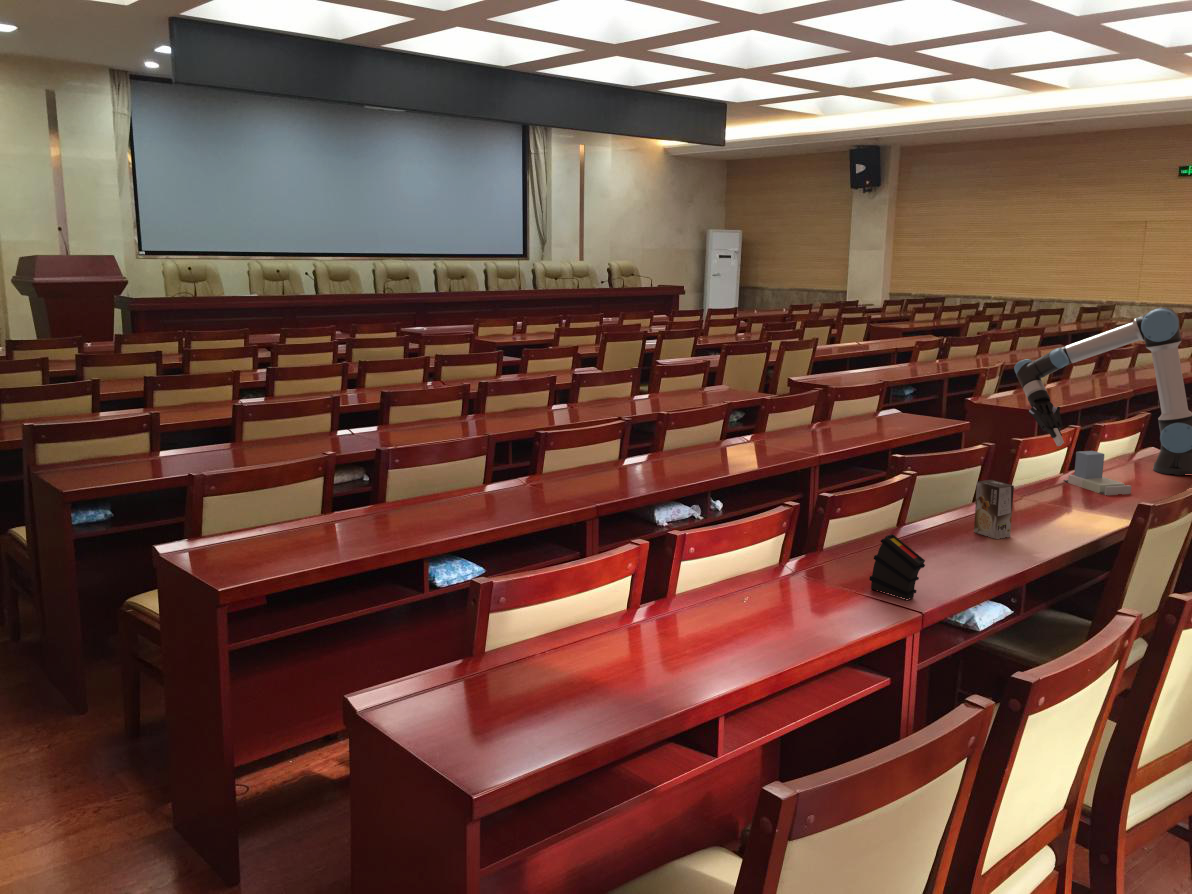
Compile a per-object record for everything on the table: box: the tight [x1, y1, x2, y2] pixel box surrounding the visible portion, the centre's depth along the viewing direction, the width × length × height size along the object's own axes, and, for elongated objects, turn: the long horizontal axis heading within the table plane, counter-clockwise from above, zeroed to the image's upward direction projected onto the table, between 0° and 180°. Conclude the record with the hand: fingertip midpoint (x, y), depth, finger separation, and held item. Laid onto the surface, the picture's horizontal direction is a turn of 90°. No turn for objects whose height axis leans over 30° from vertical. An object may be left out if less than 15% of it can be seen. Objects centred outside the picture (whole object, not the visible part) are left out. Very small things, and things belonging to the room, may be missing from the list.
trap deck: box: [1063, 474, 1132, 496], centre depth 350 cm, size 10×22×3 cm, turn 12°
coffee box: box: [973, 479, 1015, 540], centre depth 291 cm, size 9×6×16 cm
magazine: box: [868, 534, 926, 599], centre depth 240 cm, size 4×13×15 cm, turn 39°
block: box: [1073, 450, 1105, 479], centre depth 353 cm, size 7×6×9 cm
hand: (1060, 444), depth 366 cm, fingers closed
